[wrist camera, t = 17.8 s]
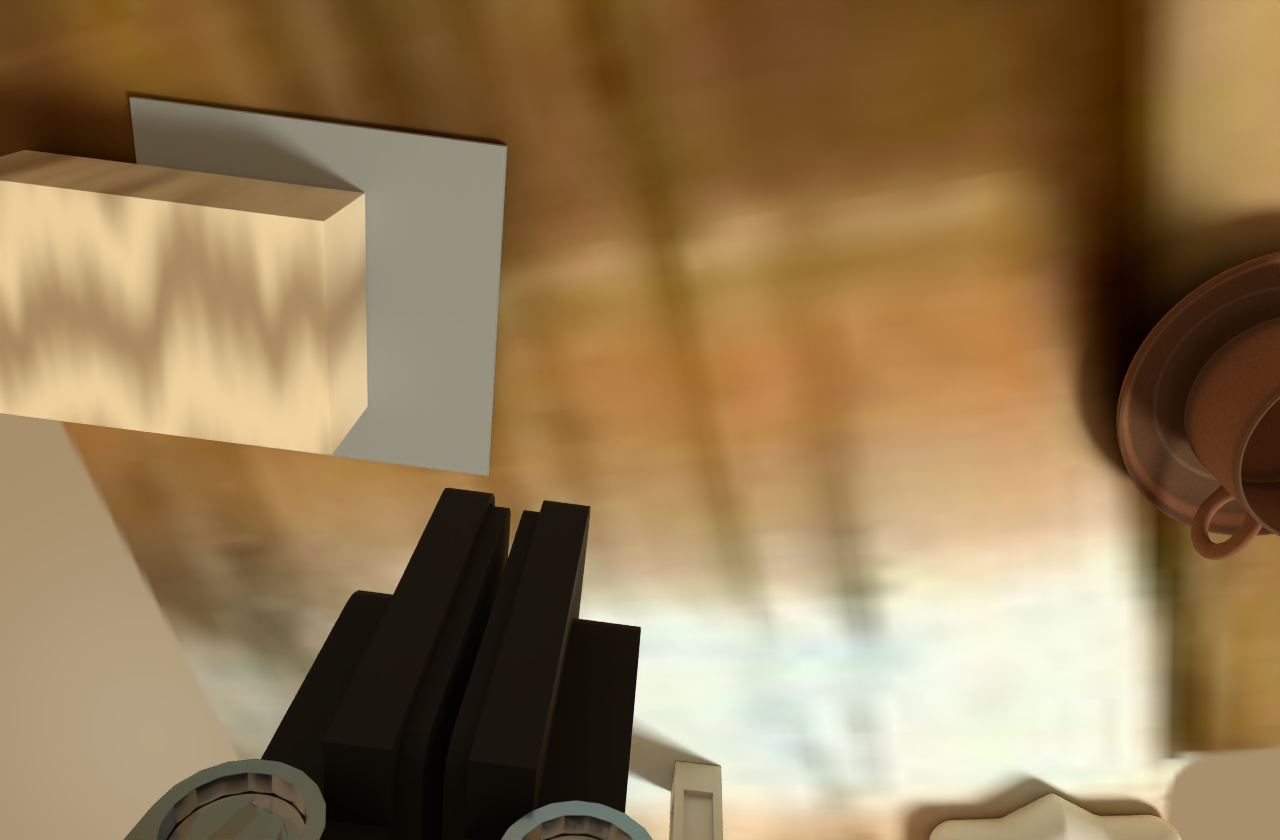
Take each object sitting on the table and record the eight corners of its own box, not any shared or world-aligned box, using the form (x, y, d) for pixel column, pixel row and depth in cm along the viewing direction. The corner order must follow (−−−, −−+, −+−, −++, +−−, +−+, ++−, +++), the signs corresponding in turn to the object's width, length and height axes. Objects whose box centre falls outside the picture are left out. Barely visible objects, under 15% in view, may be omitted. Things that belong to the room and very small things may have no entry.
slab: (365, 192, 36) (25, 149, 36) (324, 221, 32) (-58, 172, 32) (368, 405, 40) (61, 366, 40) (331, 455, 36) (-10, 411, 36)
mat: (133, 96, 36) (129, 97, 35) (507, 145, 36) (505, 146, 35) (170, 430, 42) (166, 433, 41) (489, 472, 42) (487, 475, 41)
